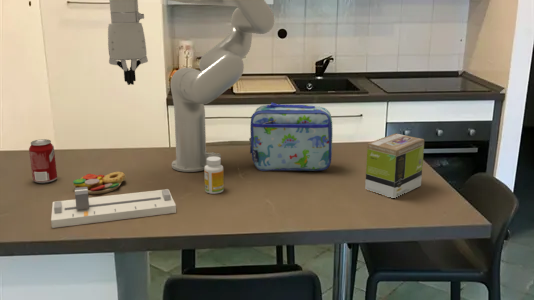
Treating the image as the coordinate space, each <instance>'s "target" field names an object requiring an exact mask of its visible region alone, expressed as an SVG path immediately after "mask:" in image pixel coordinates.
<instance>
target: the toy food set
mask: <svg viewBox="0 0 534 300" xmlns="http://www.w3.org/2000/svg"><path fill="white" fill-rule="evenodd" d="M125 180H126V174H125V173H124V172H123V171H115V172H114V171H113V172H111V173H108V174H106V175H103V174H98V175H97V174H92V173H87V174H86V175H83V176H82V177H81V178H77V179H73V181H72V183H73V186H75V188H79V187H87V188H88V195H96V194H97V195H99V194H106V193H109V192H112V191H115V190H117V189H118V188H119V187H120V186H121V184H122V182H123V181H125Z"/></svg>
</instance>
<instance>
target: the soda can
mask: <svg viewBox="0 0 534 300" xmlns="http://www.w3.org/2000/svg"><path fill="white" fill-rule="evenodd" d="M28 152H29V160H30V167H31V176H32V181H33V182H35V183H38V184H49V183H52V182H54V181H55V180H57V179H58V172H57V171H58V169H57V162H56V154H55V147H54V145H53V144H52V140H50V139H47V138H46V139H45V138H44V139H35V140H32V141H31V142H30V146H29V147H28Z"/></svg>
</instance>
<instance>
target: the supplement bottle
mask: <svg viewBox="0 0 534 300" xmlns="http://www.w3.org/2000/svg"><path fill="white" fill-rule="evenodd" d="M221 159H222V157H221V158H220V157H208V158H207V164H208V165H206V166H205V168H204V170H203V171H204V173H203V174H204V191H205V192H206V193H207V194H211V195H213V194H215V195H216V194H220V193H223V192H224V188H225V185H224V184H225V183H224V181H225V180H224V166H223V165H222V164H221V163H222V160H221Z"/></svg>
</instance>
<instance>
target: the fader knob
mask: <svg viewBox="0 0 534 300" xmlns="http://www.w3.org/2000/svg"><path fill="white" fill-rule="evenodd" d="M74 197H75V199H76V209H77V210H80V209H89V199H88V198H89V194H88V188H87V187H79V188H76V187H75V188H74Z"/></svg>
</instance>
